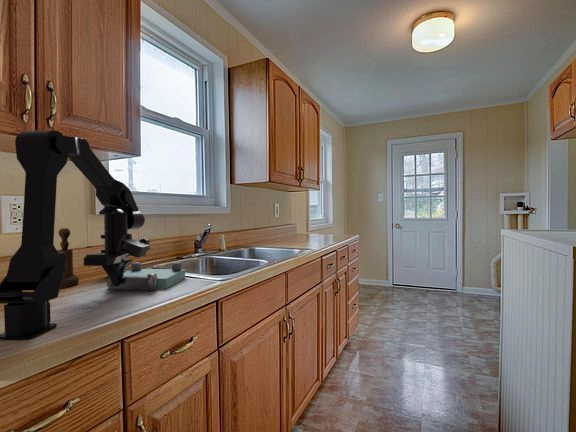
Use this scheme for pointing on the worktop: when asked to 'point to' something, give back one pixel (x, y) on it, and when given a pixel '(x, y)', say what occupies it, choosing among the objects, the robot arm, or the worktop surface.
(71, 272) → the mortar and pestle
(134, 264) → the stool seat
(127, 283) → the folding leg
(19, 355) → the worktop surface
